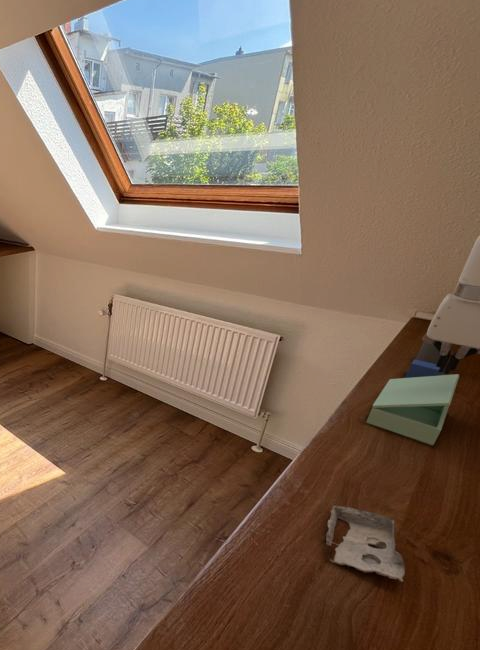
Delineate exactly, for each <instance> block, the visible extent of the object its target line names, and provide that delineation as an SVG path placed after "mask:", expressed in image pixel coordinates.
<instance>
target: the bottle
mask: <svg viewBox="0 0 480 650" xmlns="http://www.w3.org/2000/svg"><path fill="white" fill-rule="evenodd" d="M452 346H453V344H452V343H451V345H450V349H451V348H452ZM440 356H441V354H440V352H439V351H438V350H437V348H436V347H435V346H434V345H432V344H429V343H426V342H424V341H422V344H421V346H420V349H419V351H418V353H417V355H416V358H415V359H416V360H420V361H424V362H428V363H433V364H437V363H438V360H439V358H440Z"/></svg>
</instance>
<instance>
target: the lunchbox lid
mask: <svg viewBox="0 0 480 650" xmlns="http://www.w3.org/2000/svg"><path fill="white" fill-rule="evenodd" d="M459 379H460V374H459V373H455V374H442V375H440V376H426V377H413V378H405V377H402V378H401V377H400V378H390V379H389V380H388V381H387V383H386V384H385V386H384V387H383V389H382V390H381V392H380V393H379V395H378V396H377V398H376V400H375V401H374V403H373V404H372V408H383V407H416V406H448V405H449V406H450V405H451V403H452V400H453V398H454V397H453V396H454V394H455V391H456V387H457V384H458V382H459Z"/></svg>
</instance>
